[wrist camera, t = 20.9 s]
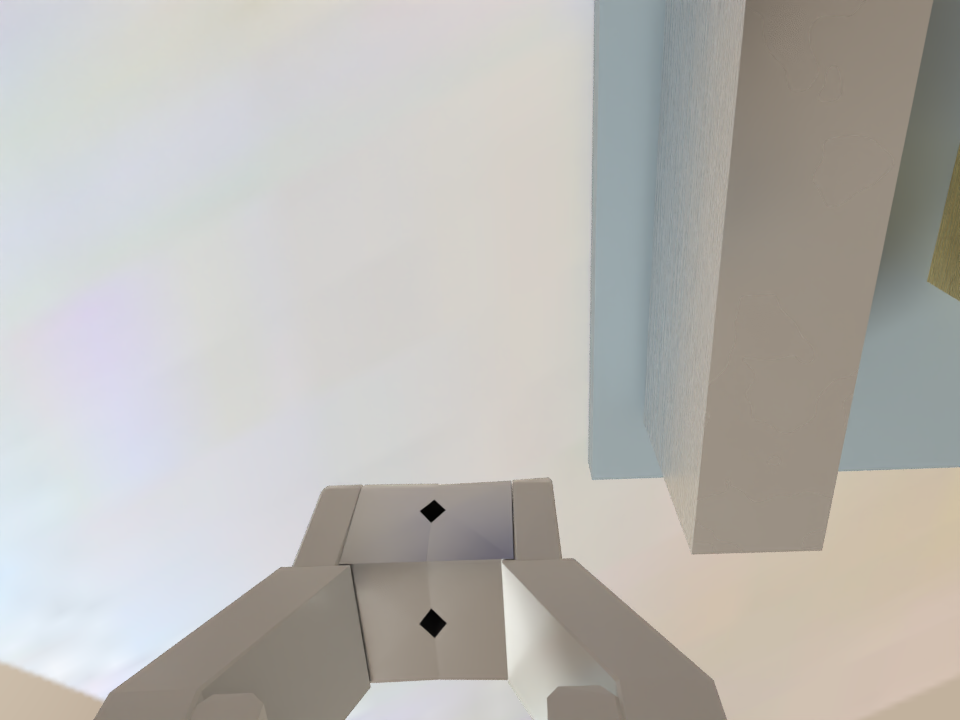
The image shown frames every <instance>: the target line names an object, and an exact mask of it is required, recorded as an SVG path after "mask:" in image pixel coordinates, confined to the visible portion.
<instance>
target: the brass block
mask: <svg viewBox="0 0 960 720" xmlns="http://www.w3.org/2000/svg"><path fill="white" fill-rule="evenodd" d="M927 282H929V283H930V284H932V285H934V286H935V287H937V288H938V289H940V290H942V291H943V292H945V293H947V294H948V295H950V296H952V297H953V298H955V299H957V300H958V301H960V144H959V148H958V152H957V157H956V161H955V165H954V169H953V173H952V178H951V182H950V186H949V190H948V195H947V199H946V203H945V207H944V211H943V216H942V220H941V224H940V228H939V233H938V237H937V241H936V245H935V249H934V254H933V258H932V262H931V266H930V270H929V275H928V279H927Z"/></svg>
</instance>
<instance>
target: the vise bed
mask: <svg viewBox="0 0 960 720" xmlns="http://www.w3.org/2000/svg"><path fill="white" fill-rule="evenodd" d="M665 3H666V0H595V9H594V85H593V161H592V236H591V312H590V388H589V468H590V472H591V477H592V480H603V479H632V478H661V477H663V474H662V471H661V469H660V466H659V463H658V461H657V458H656V455H655V452H654V450H653V447H652V444H651V441H650V439H649V436H648V433H647V430H646V428H645V425H644V422H643V420H644V401H645V382H646V363H647V344H648V325H649V306H650V287H651V268H652V249H653V230H654V211H655V193H656V174H657V155H658V136H659V117H660V98H661V79H662V60H663V41H664V22H665ZM959 144H960V0H933V4H932V9H931V14H930V19H929V24H928V29H927V34H926V39H925V44H924V49H923V54H922V59H921V63H920V68H919V73H918V78H917V83H916V88H915V93H914V98H913V103H912V108H911V113H910V118H909V123H908V128H907V133H906V138H905V143H904V147H903V152H902V157H901V162H900V167H899V172H898V177H897V182H896V187H895V192H894V197H893V202H892V207H891V212H890V217H889V222H888V227H887V231H886V236H885V241H884V246H883V251H882V256H881V261H880V266H879V271H878V276H877V281H876V286H875V291H874V296H873V301H872V306H871V311H870V315H869V320H868V325H867V330H866V335H865V340H864V345H863V350H862V355H861V360H860V365H859V370H858V375H857V380H856V385H855V390H854V395H853V399H852V404H851V409H850V414H849V419H848V424H847V429H846V434H845V439H844V444H843V449H842V454H841V459H840V464H839V469H838V471H863V470H892V469H921V468H950V467H960V301H958V300H957V299H955V298H953V297H952V296H950V295H948V294H947V293H945V292H943V291H942V290H940V289H938V288H937V287H935V286H934V285H932V284H930V283H929V282H927V279H928V275H929V270H930V266H931V262H932V258H933V254H934V249H935V245H936V241H937V237H938V233H939V228H940V224H941V220H942V216H943V211H944V207H945V203H946V199H947V195H948V190H949V186H950V182H951V178H952V173H953V169H954V165H955V161H956V157H957V152H958V148H959Z"/></svg>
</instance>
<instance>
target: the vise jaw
mask: <svg viewBox="0 0 960 720" xmlns="http://www.w3.org/2000/svg"><path fill="white" fill-rule="evenodd" d="M932 4H933V0H666V3H665V22H664V41H663V60H662V79H661V98H660V117H659V136H658V155H657V174H656V193H655V211H654V230H653V249H652V268H651V287H650V306H649V325H648V344H647V363H646V382H645V401H644V420H643V422H644V425H645V428H646V430H647V433H648V436H649V439H650V441H651V444H652V447H653V450H654V452H655V455H656V458H657V461H658V463H659V466H660V469H661V471H662V474H663V477H664V480H665V482H666V485H667V488H668V491H669V493H670V496H671V499H672V502H673V504H674V507H675V510H676V512H677V515H678V518H679V521H680V523H681V526H682V529H683V532H684V534H685V537H686V540H687V543H688V545H689V548H690V551H691V553H692V554H720V553H754V552H788V551H821V550H822V548H823V543H824V538H825V533H826V528H827V523H828V518H829V513H830V508H831V503H832V498H833V493H834V488H835V483H836V479H837V474H838V469H839V464H840V459H841V454H842V449H843V444H844V439H845V434H846V429H847V424H848V419H849V414H850V409H851V404H852V399H853V395H854V390H855V385H856V380H857V375H858V370H859V365H860V360H861V355H862V350H863V345H864V340H865V335H866V330H867V325H868V320H869V315H870V311H871V306H872V301H873V296H874V291H875V286H876V281H877V276H878V271H879V266H880V261H881V256H882V251H883V246H884V241H885V236H886V231H887V227H888V222H889V217H890V212H891V207H892V202H893V197H894V192H895V187H896V182H897V177H898V172H899V167H900V162H901V157H902V152H903V147H904V143H905V138H906V133H907V128H908V123H909V118H910V113H911V108H912V103H913V98H914V93H915V88H916V83H917V78H918V73H919V68H920V63H921V59H922V54H923V49H924V44H925V39H926V34H927V29H928V24H929V19H930V14H931V9H932Z"/></svg>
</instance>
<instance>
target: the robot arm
mask: <svg viewBox="0 0 960 720" xmlns="http://www.w3.org/2000/svg"><path fill="white" fill-rule="evenodd" d="M512 495H513V500H512ZM513 519H514V521H513ZM438 679H440V680H508V683H509V685H510V686H511V688H512V689H513V691H514V692H515V694H516V695H517V697H518V698H519V700H520V701H521V703H522V704H523V706H524V707H525V709H526V710H527V712H528V713H529V715H530V716H531V718H532V719H533V720H727V718H726V715H725V713H724V710H723V707H722V704H721V701H720V698H719V695H718V692H717V689H716V686H715V683H714V680H713V679H712V678H710V677H709V676H708V675H707V674H706V673H705V672H703V671H702V670H701V669H700V668H699V667H698V666H697V665H695V664H694V663H693V662H692V661H691V660H690V659H689V658H687V657H686V656H685V655H684V654H683V653H682V652H681V651H679V650H678V649H677V648H676V647H675V646H674V645H672V644H671V643H670V642H669V641H668V640H667V639H666V638H664V637H663V636H662V635H661V634H660V633H659V632H658V631H656V630H655V629H654V628H653V627H652V626H651V625H650V624H648V623H647V622H646V621H645V620H644V619H643V618H641V617H640V616H639V615H638V614H637V613H636V612H635V611H633V610H632V609H631V608H630V607H629V606H628V605H627V604H625V603H624V602H623V601H622V600H621V599H620V598H619V597H617V596H616V595H615V594H614V593H613V592H612V591H610V590H609V589H608V588H607V587H606V586H605V585H604V584H602V583H601V582H600V581H599V580H598V579H597V578H596V577H594V576H593V575H592V574H591V573H590V572H589V571H588V570H586V569H585V568H584V567H583V566H582V565H581V564H579V563H578V562H577V561H576V560H575V559H573V558H567V559H562V554H561V546H560V539H559V531H558V523H557V515H556V507H555V500H554V492H553V484H552V480H551V479H550V478H534V479H520V480H513V484H512V483H511V481H497V482H478V483H460V484H441V485H438V484H377V485H365V486H363V485H339V486H327V487H326V488H324V489H323V490H322V492H321V494H320V496H319V499H318V501H317V504H316V507H315V509H314V512H313V514H312V517H311V519H310V522H309V524H308V527H307V530H306V532H305V535H304V537H303V540H302V542H301V545H300V548H299V550H298V553H297V555H296V558H295V560H294V563H293V565H292V567H280V568H279V569H278V570H276V571H275V572H274V573H272V574H271V575H270V576H268V577H267V578H265V579H264V580H263V581H261V582H260V583H259V584H257V585H256V586H255V587H253V588H252V589H250V590H249V591H248V592H246V593H245V594H244V595H242V596H241V597H240V598H238V599H237V600H235V601H234V602H233V603H231V604H230V605H229V606H227V607H226V608H225V609H223V610H222V611H220V612H219V613H218V614H216V615H215V616H214V617H212V618H211V619H210V620H208V621H207V622H205V623H204V624H203V625H201V626H200V627H199V628H197V629H196V630H195V631H193V632H192V633H190V634H189V635H188V636H186V637H185V638H184V639H182V640H181V641H180V642H178V643H177V644H175V645H174V646H173V647H171V648H170V649H169V650H167V651H166V652H165V653H163V654H162V655H160V656H159V657H158V658H156V659H155V660H154V661H152V662H151V663H150V664H148V665H147V666H145V667H144V668H143V669H141V670H140V671H139V672H137V673H136V674H135V675H133V676H132V677H130V678H129V679H128V680H126V681H125V682H124V683H122V684H121V685H120V686H118V687H117V688H115V689H114V690H113V691H111V692H110V693H109V695H108V697H107V698H106V700H105V702H104V703H103V705H102V707H101V708H100V710H99V712H98V713H97V715H96V717H95V718H94V720H345V719H346V718H347V716H348V715H349V714H350V712H351V711H352V710H353V709H354V707H355V706H356V705H357V704H358V702H359V701H360V700H361V699H362V697H363V696H364V695H365V694H366V692H367V691H368V690H369V689H370V683H381V682H400V681H419V680H438Z"/></svg>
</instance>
